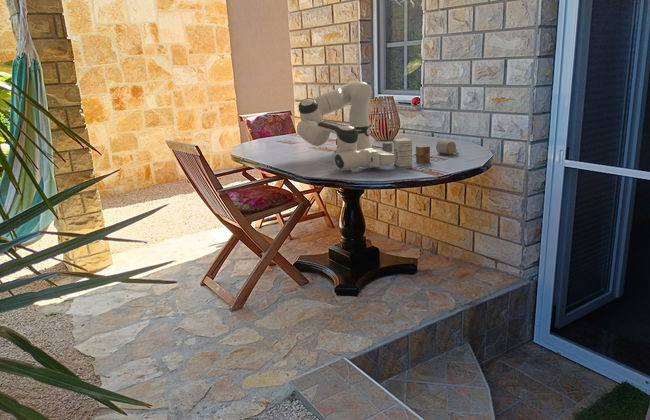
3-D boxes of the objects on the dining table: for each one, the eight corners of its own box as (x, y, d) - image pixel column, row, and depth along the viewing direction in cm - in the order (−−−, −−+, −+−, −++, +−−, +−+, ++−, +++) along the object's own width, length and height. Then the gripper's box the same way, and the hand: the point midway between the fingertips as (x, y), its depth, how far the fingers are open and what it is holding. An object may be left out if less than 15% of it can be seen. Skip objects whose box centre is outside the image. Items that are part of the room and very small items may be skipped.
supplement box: (393, 164, 250) (393, 139, 246) (408, 162, 251) (407, 137, 247) (397, 167, 243) (397, 141, 239) (412, 165, 244) (412, 139, 240)
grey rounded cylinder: (381, 160, 260) (380, 143, 257) (385, 159, 264) (385, 142, 261) (389, 161, 257) (389, 144, 254) (394, 159, 261) (393, 142, 258)
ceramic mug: (447, 156, 261) (447, 141, 258) (435, 154, 267) (435, 139, 265) (461, 153, 266) (461, 138, 264) (449, 151, 273) (449, 137, 271)
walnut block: (421, 163, 247) (421, 147, 245) (416, 161, 252) (415, 146, 250) (430, 162, 249) (430, 146, 247) (424, 160, 253) (424, 144, 251)
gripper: (360, 160, 250) (385, 156, 254) (378, 167, 231) (404, 163, 236) (359, 147, 248) (385, 144, 252) (377, 154, 230) (404, 150, 234)
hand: (394, 153), depth 244 cm, fingers closed
